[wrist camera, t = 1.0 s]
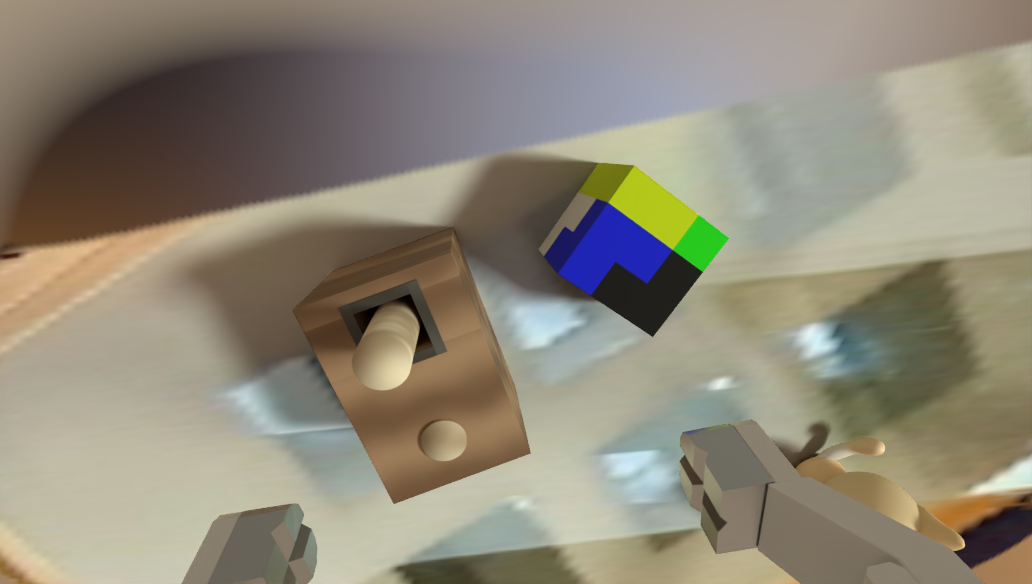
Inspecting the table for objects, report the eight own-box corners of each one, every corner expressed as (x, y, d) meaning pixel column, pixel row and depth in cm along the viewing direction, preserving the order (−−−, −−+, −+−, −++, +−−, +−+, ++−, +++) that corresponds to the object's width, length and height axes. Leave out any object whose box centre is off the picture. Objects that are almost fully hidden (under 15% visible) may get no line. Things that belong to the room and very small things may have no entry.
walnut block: (514, 386, 52) (531, 455, 40) (408, 425, 51) (393, 506, 40) (452, 227, 46) (450, 253, 34) (334, 270, 46) (291, 311, 34)
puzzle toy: (538, 249, 48) (557, 273, 38) (598, 162, 46) (634, 165, 37) (616, 301, 50) (652, 336, 41) (676, 221, 49) (728, 238, 39)
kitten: (761, 531, 61) (853, 647, 47) (737, 471, 58) (828, 576, 44) (869, 479, 61) (996, 580, 46) (851, 416, 58) (981, 504, 43)
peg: (430, 318, 42) (420, 378, 31) (391, 333, 42) (366, 398, 31) (414, 280, 41) (397, 328, 30) (373, 295, 41) (341, 349, 30)
